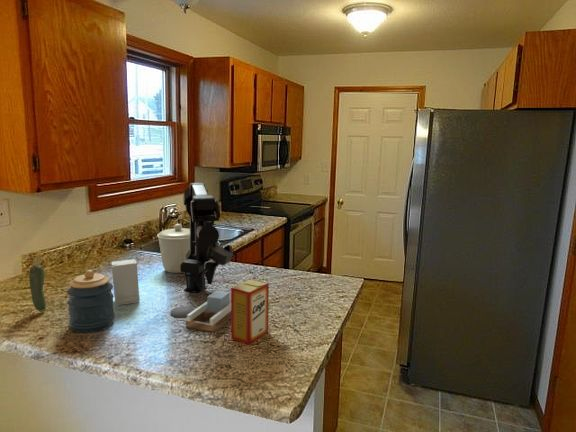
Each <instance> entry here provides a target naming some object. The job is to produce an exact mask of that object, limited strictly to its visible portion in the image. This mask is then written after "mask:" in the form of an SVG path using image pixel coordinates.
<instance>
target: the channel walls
mask: <svg viewBox="0 0 576 432" xmlns="http://www.w3.org/2000/svg"><path fill="white" fill-rule="evenodd" d="M194 309H195V310H193V311H192V312H191V313H189V314H188V315H187V317H186V320H187V321H191V320H193V319H194V318H195V317H197V316H198V315H200V314H201V313H202V312H204V311H205V310H207V301H205V302H204V303H202V304H201V305H199V306H198V307H196V308H194ZM230 311H231V303H230V304H228V305H227V306H226V307H225V308H223V309H222V310H221V311H219V312H218V313H217V314H215V315H214V316H213V317H212V318H210V325H212V326H213V325H214V324H215V323H217V322H218V321H219V320H220V319H222V318H223V317H224V316H225V315H226V314H228V313H229V312H230Z"/></svg>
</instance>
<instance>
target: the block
mask: <svg viewBox="0 0 576 432" xmlns="http://www.w3.org/2000/svg"><path fill="white" fill-rule="evenodd" d="M229 295H230V292H228V291H220V290H216V291H214V292H212V293H211V294H209V295H208V296H207V297H206V298H207V299H206V300H207V301H206V302H207V309H208V311H209V312H215V313H218V312H219V311H221V310H222V309H223V308H225V307H226V306H227V305H228V304H230V297H229Z"/></svg>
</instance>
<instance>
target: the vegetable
mask: <svg viewBox="0 0 576 432" xmlns="http://www.w3.org/2000/svg"><path fill="white" fill-rule="evenodd" d="M42 257H43V255H42V254H41V253H38V254H36V256H35V257H34V258H33V261H32V262H33V263H32V267H30V269H29V272H28V279H29V281H28V282H29V289H30V294H31V300H32V303H33V306H34V308H35V310H37V311H38V312H40V313H45V312H46V309H47V308H46V307H47V303H46V298H45V293H44V282H45V269H44V267H43V266H42V265H41V258H42Z"/></svg>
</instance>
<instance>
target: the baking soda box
mask: <svg viewBox="0 0 576 432" xmlns="http://www.w3.org/2000/svg"><path fill="white" fill-rule="evenodd" d="M269 285H270V284H269V283H268V282H264V281H260V280H256V279H252V278H251V279H249V280H246V281H244V282H242V283H239V284H237V285H235V286H233V287H230V295H231V318H230V319H231V321H230V322H231V325H230V326H231V331H230V333H231V334H230V336H231V337H230V338H231V340H235V341H236V342H237V341H238V342H241V343H244V344H247V345H250V344H252V343H254V342H255V341H257V340H258V339H260V338H261V337H264V336H265V335H266V334H268V333H269V295H270V294H269V287H270V286H269Z"/></svg>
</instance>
